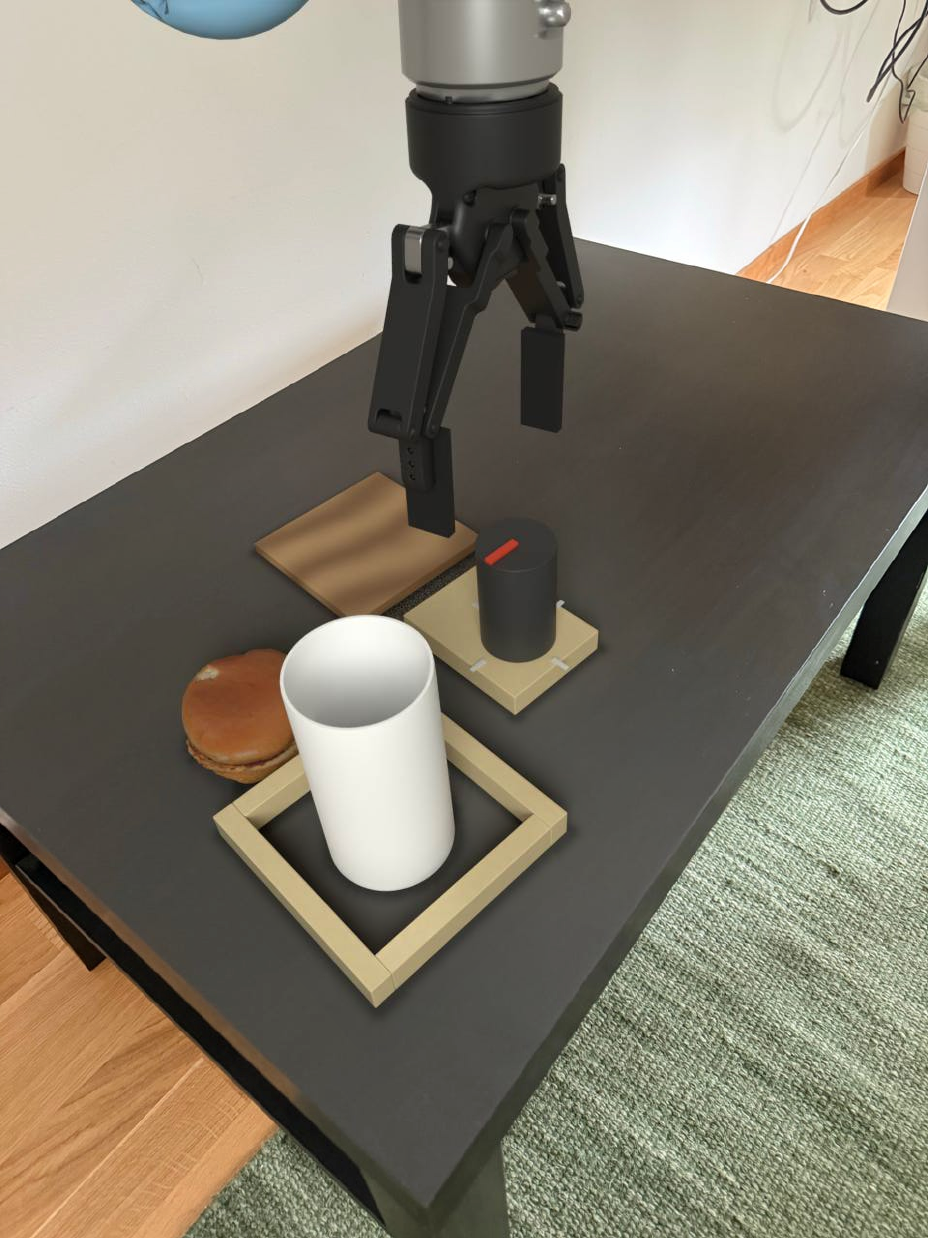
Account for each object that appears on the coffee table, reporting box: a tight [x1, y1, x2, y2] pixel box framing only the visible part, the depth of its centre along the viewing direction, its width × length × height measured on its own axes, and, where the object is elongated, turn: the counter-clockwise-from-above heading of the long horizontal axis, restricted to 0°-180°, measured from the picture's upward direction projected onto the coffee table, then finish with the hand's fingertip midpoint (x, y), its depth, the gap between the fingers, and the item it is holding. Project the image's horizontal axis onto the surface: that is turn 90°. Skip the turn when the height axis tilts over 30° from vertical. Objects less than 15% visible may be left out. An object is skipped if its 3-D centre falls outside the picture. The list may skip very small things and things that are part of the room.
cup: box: [280, 615, 456, 892], centre depth 54 cm, size 8×8×16 cm
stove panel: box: [402, 565, 599, 716], centre depth 71 cm, size 13×10×2 cm
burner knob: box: [474, 517, 559, 663], centre depth 66 cm, size 6×6×9 cm
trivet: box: [254, 471, 479, 619], centre depth 80 cm, size 14×14×1 cm
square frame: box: [212, 711, 568, 1008], centre depth 59 cm, size 16×16×2 cm
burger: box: [181, 648, 299, 784], centre depth 65 cm, size 10×9×5 cm
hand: (490, 474), depth 57 cm, fingers open, 13 cm apart
